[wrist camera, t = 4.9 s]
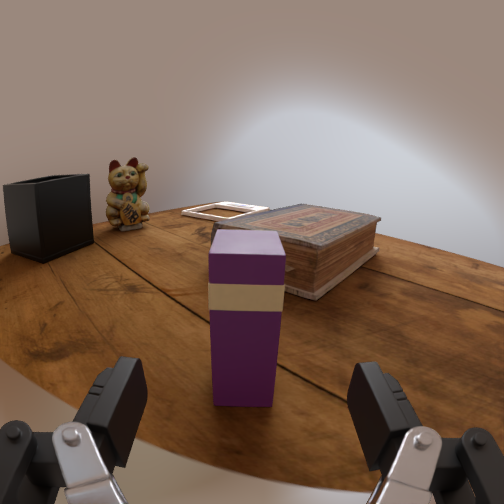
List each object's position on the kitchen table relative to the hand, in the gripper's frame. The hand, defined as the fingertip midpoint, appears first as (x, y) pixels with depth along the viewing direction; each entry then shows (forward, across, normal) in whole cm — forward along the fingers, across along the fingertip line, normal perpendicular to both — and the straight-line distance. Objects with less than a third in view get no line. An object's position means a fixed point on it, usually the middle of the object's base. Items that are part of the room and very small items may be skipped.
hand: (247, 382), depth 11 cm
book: (+37, -9, +8) cm, 39 cm away
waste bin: (+39, +36, +8) cm, 54 cm away
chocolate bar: (+9, 0, +8) cm, 12 cm away
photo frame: (+71, +5, +8) cm, 72 cm away
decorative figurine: (+55, +26, +8) cm, 61 cm away
